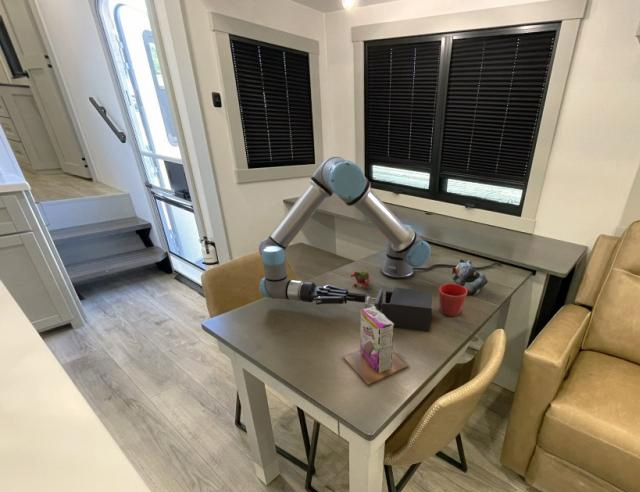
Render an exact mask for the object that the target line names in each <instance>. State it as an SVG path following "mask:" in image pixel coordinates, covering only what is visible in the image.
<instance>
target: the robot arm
mask: <svg viewBox="0 0 640 492" xmlns="http://www.w3.org/2000/svg"><path fill="white" fill-rule="evenodd" d="M333 194H335V195H336V196H337V197H338V198H339V199H340V200H341V201H343V202H344V203H345V204H346V206H348V207H354V208H356V210H358V212H359V213H361V215H362V216H364V217H365V218H366V219H367V220H368V221H369V222H370V223H371V224H372V226H374V227H375V228H376V229H377V230H378V231H379V232H380V233H381V234H382V235H383V237H385V238H386V254H385V259H384V262H383V264H382V266H381V273H382V275H383V276H385V277H386V278H387V277H388V278H391V279H397V280H401V279H402V280H403V279H408V278H411V277H412V276H413V275H414V271H415V270H417V271H418V270H419V271H428V270H431V269H433V268H435V267H449V268H456V267H457V266H458V264H457V265H456V264H446V263H436V264H432V265H430V266H429V267H421V266H422V265H424V264H425V263H427V262H428V261H429V258H430V256H431V253H432V250H431V246H430V244H429V242H427V241H426V240H424V239H422V238H421V236H420V235H419V234H418V233H417V232H416V231H415V230H414V227H413V226H412V225H409V224H404V223H403V222H402V221H401V220H400V219H399V218H398V217H397V216H396V214H394V212H393V211H391V209H390V208H389V207H388V206H387V205H386V204H385V203H384V202H383V201H382V200H381V198H380V197H379V196H378V195H376V192H374V191H373V190H372V188H371V182H370V181H369V179H368V178H367V177H366V176H365V173H364V171H363V170H362V168H361V167H360V166H358V164H356V163H355V162H353V161H351V160H346V159H345V158H344V157H340V156H330V157H328V158H326V159H325V160H324V161H323V162H322V163H321V164H320V165H319V166H318V167H317V168H316V170H315V172H314V173H313V174H312V176H311V177H310V178H309V184H308V185H307V187H306V188H305V189H304V191H303V192H302V193H301V195H299V197H298V198H297V199H296V201H295V203H293V205H292V206H291V207H290V208H289V210H288V211H287V212H286V214H285V215H284V216H283V218H282V219H281V221H280V222H279V223H278V224H277V226H276V227H275V228H274V229H273V231H272V232H271V233H270V235H269V236H268V237H267V238H265V239H263V240H262V241H260V243H259V246H258V252H259V255H260V257H261V262H262V266H263V270H264V277H263V278H262V279H260V281H259V293H260V295H261V296H263V297H265V298H270V299H279V300H288V301H295V302H303V303H313V302H314V301H315V305H316V306H318V305H343V304H348V302H356V303H362V304H363V303H364V304H365V301H366V294H365V293H356V292H349V289H348V288H345V287H341V286H336V285H333V284H330V283H328V282H327V283H325V285H324V286H322V285H316V284H315V282H311V281H302V280H294V279H288V274H287V265H286V264H287V263H286V255H285V251H286V249H287V248H288V247H289V245H290V244H291V243H292V241H294V239H295V237H297V235H298V234H299V232H300V231H301V230H302V229H303V228H304V227H305V225H306V224H307V222H309V220H310V219H311V217H312V216H313V215H314V214H315V213H316V211H317V210H318V209H319V207H320V206H321V205H322V204H323V203H324V201H325V200H326V198H331V197H332V196H333ZM495 265H498V266H501V265H502V264H501V263H500V262H499V261H496V262H493V263H492V264H488V265H485V266H475V268H476V270H483V269H487V268H491V267H493V266H495Z"/></svg>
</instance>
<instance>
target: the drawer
mask: <svg viewBox="0 0 640 492" xmlns="http://www.w3.org/2000/svg"><path fill="white" fill-rule="evenodd" d="M392 294H393V290H391V291H389V290H386V291H385V300H384V302H383V299H384V289H383V288H379V290H378V293H377V296H376V297H372V296H370V295H368V296H366V298H365V303H364V304H363V308H368V307H371V306H375V307H376V308H377V309H378V310H379V311H380V312H381V313H382V314H384V315H385V316H386V317H387V318H388V319H389V305H390V301H391V297H392ZM371 301H374V304H372V303H371V304H370V302H371Z"/></svg>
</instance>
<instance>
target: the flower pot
mask: <svg viewBox="0 0 640 492" xmlns="http://www.w3.org/2000/svg"><path fill="white" fill-rule="evenodd" d="M438 294H439V295H438V298H439V310H440V312H441V313H442V314H443V315H445V316H449V317H456V316H459V314H461V311H462V308H463V306H464V303H465V300H466V298H467V289H466V288H465V287H463V286H460V285H457V284H456V283H444V284H442V285H440V286H439V288H438Z"/></svg>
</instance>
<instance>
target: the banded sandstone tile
mask: <svg viewBox="0 0 640 492" xmlns="http://www.w3.org/2000/svg"><path fill="white" fill-rule="evenodd" d="M343 359H344V360H345V361H346V362H347V364H348V365H349V366H350V367H351V368H352V370H354V372H356V373H357V374H358V376H359V377H360V378H361V379H362V381H364V383H365V384H366V385H367V386H370V385H372V384H374V383H377V382H379V381H381V380H383V379H386V378H388V377H390V376H392V375H394V374H396V373H398V372H400V371H402V370H405V369H407V368H408V365H407V364H406V363H405V362H404V361H403V360H402V359H401V358H400V357H399V356H397V355H396V354H395V353H394V352H393V351H392V364H391V369H389V370H386V371H384V372H382V373H379V374H378V373H377V372H376V371H375V369H374V368H373V367H372V366H371V365H370V364H369V363H368V361H367V360H366V359H365V358H364V357H363V356H362V355H361V353H360V350H358V351H355V352H353V353H351V354H348V355H344V356H343Z"/></svg>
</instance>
